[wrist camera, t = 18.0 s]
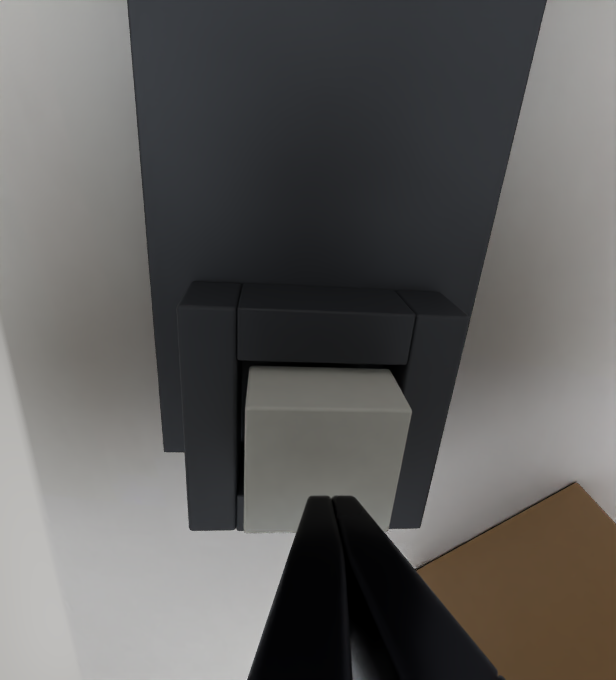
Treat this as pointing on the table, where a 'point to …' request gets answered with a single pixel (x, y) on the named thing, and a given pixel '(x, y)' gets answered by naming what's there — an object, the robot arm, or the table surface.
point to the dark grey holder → (318, 205)
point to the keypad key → (320, 442)
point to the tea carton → (538, 590)
